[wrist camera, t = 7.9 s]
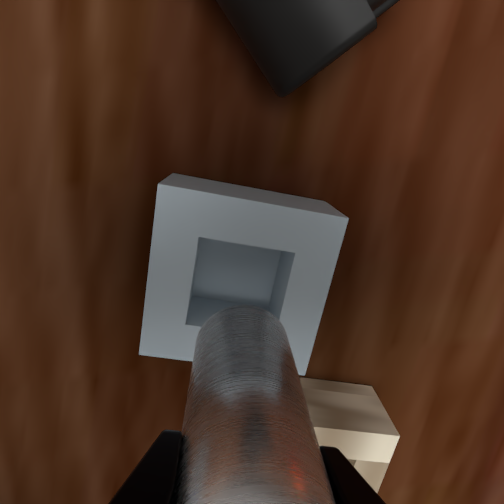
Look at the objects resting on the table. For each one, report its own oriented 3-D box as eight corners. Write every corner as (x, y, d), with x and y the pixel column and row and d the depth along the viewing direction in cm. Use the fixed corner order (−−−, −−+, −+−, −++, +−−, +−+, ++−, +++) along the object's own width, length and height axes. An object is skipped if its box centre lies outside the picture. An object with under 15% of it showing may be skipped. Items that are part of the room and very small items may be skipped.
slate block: (155, 313, 20) (138, 354, 17) (172, 172, 18) (157, 183, 14) (291, 332, 21) (304, 375, 18) (325, 201, 19) (349, 218, 15)
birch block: (227, 469, 24) (226, 530, 21) (249, 370, 22) (253, 420, 18) (339, 479, 25) (358, 540, 22) (371, 386, 23) (400, 436, 19)
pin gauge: (189, 379, 12) (39, 1331, 2) (203, 298, 11) (49, 1300, 2) (277, 390, 12) (443, 1259, 3) (297, 312, 11) (637, 1198, 2)
